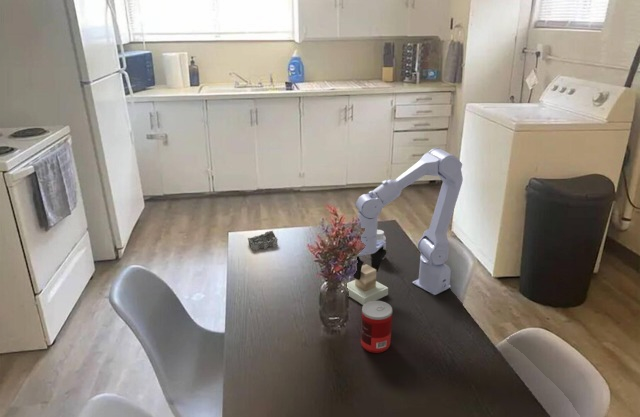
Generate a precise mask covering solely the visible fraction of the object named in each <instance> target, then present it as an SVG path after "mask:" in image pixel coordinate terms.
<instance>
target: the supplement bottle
mask: <svg viewBox="0 0 640 417" xmlns="http://www.w3.org/2000/svg"><path fill="white" fill-rule="evenodd" d="M380 240H383V241H385V242H386V243H387V241H386V240H387V238H386V235H385V231H384V230H382V229H377V241H380ZM383 249H384V250H386V248H383ZM368 256H369V258H370V259H371V254H368ZM385 258H386V255H385V256H384V258H383V259H382V261H383V260H384V259H385Z"/></svg>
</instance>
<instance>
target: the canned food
mask: <svg viewBox="0 0 640 417" xmlns="http://www.w3.org/2000/svg"><path fill="white" fill-rule="evenodd" d="M361 308H362V309H361V324H360V326H361V328H360V345H361V346H362V348H363V349H364V350H365V351H367V352H369V353H371V354H372V353H373V354H380V353H383V352H385V351H387V350H388V349H389V347H390V345H391V340H392V339H391V338H392V325H393V307H392V305H391V304H389V303H388V302H386V301H382V300H376V301H370V302H367V303H366V304H364V305H362V306H361Z"/></svg>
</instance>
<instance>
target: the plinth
mask: <svg viewBox="0 0 640 417" xmlns="http://www.w3.org/2000/svg"><path fill="white" fill-rule="evenodd" d="M346 283H347V288H348V291H349V296H348V297H350V298H351V299H353V300H354V301H356V302H358V303H359V304H361V305H362V306H363V305H364V304H366V303H367V302H370V301H379V300H380V299H382V298H384V297H386V296H388V295H389V287H387V286H386V285H384V284H382V283H380V282H379V281H377V280H376V287H374V288H372V289H370V290H367V291H363V290H362V289H360V288H358V287H357V286H355V279H353V280H351V281H349V282H346Z"/></svg>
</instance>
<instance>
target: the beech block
mask: <svg viewBox="0 0 640 417" xmlns="http://www.w3.org/2000/svg"><path fill="white" fill-rule="evenodd" d="M354 280H355V286H357V287H358V288H360V289H362V290H363V291H367V290H370V289H372V288H374V287H376V281H377V272H376V269H374V268H372V266H371V265H369V264H366V263H365V264H363V265H362V268H361V277H360V279H359V280H357V279H356V278H354Z"/></svg>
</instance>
